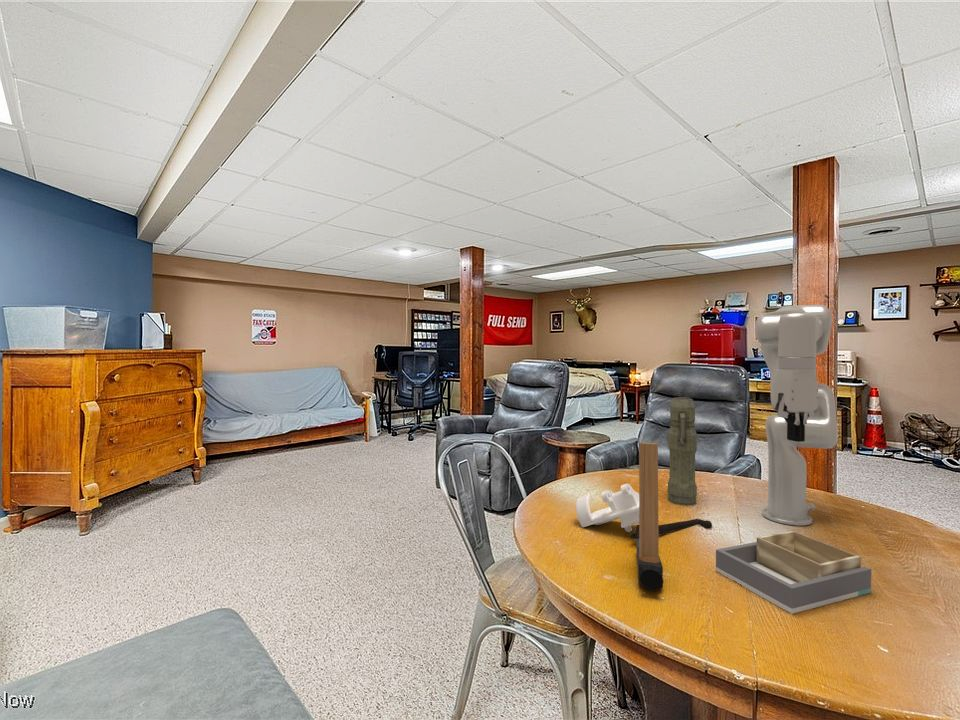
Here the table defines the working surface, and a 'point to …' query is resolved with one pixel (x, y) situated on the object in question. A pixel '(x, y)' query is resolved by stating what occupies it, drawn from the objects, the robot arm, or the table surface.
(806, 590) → the bay
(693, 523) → the wrench
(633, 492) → the white plastic bracket
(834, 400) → the robot arm
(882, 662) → the table surface
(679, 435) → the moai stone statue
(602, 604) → the table surface
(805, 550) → the crate
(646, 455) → the hammer
